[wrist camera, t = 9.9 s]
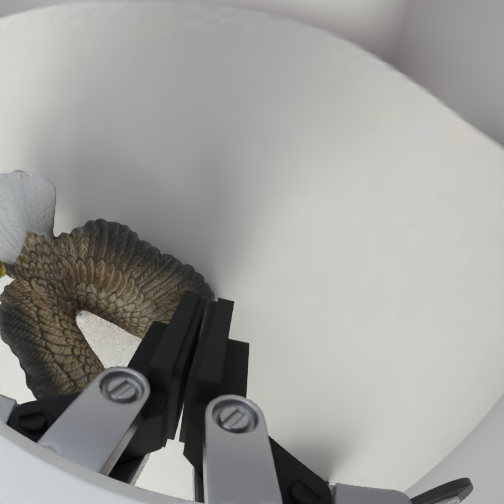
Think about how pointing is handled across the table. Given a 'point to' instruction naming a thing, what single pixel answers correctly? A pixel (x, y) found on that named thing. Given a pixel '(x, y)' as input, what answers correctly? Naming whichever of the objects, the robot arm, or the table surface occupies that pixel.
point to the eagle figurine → (76, 286)
